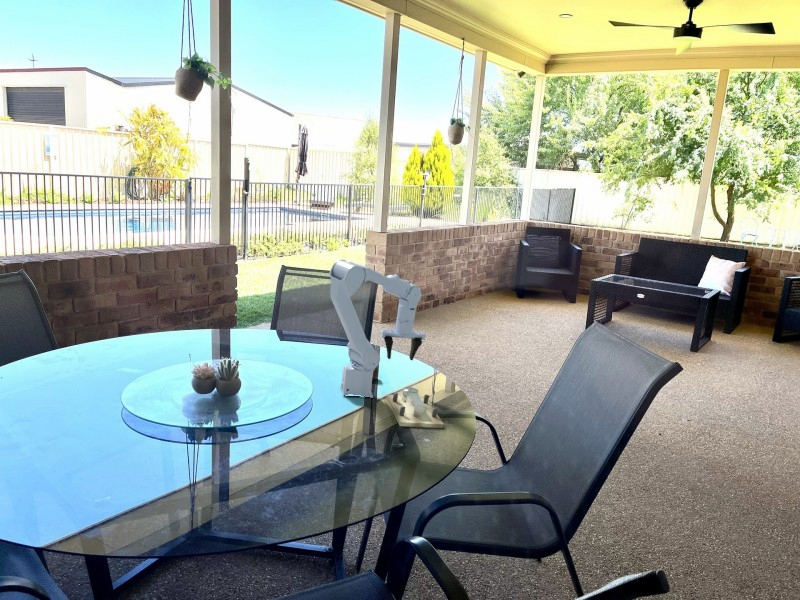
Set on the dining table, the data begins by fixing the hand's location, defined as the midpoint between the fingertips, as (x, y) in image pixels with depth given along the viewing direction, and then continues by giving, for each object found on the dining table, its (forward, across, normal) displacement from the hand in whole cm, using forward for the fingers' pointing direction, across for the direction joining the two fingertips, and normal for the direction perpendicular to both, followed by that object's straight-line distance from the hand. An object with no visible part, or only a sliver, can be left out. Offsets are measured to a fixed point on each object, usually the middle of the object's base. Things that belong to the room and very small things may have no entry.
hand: (400, 358), depth 192 cm
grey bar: (+9, +1, -17) cm, 20 cm away
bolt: (+11, -10, +14) cm, 20 cm away
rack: (+10, +1, -19) cm, 22 cm away
